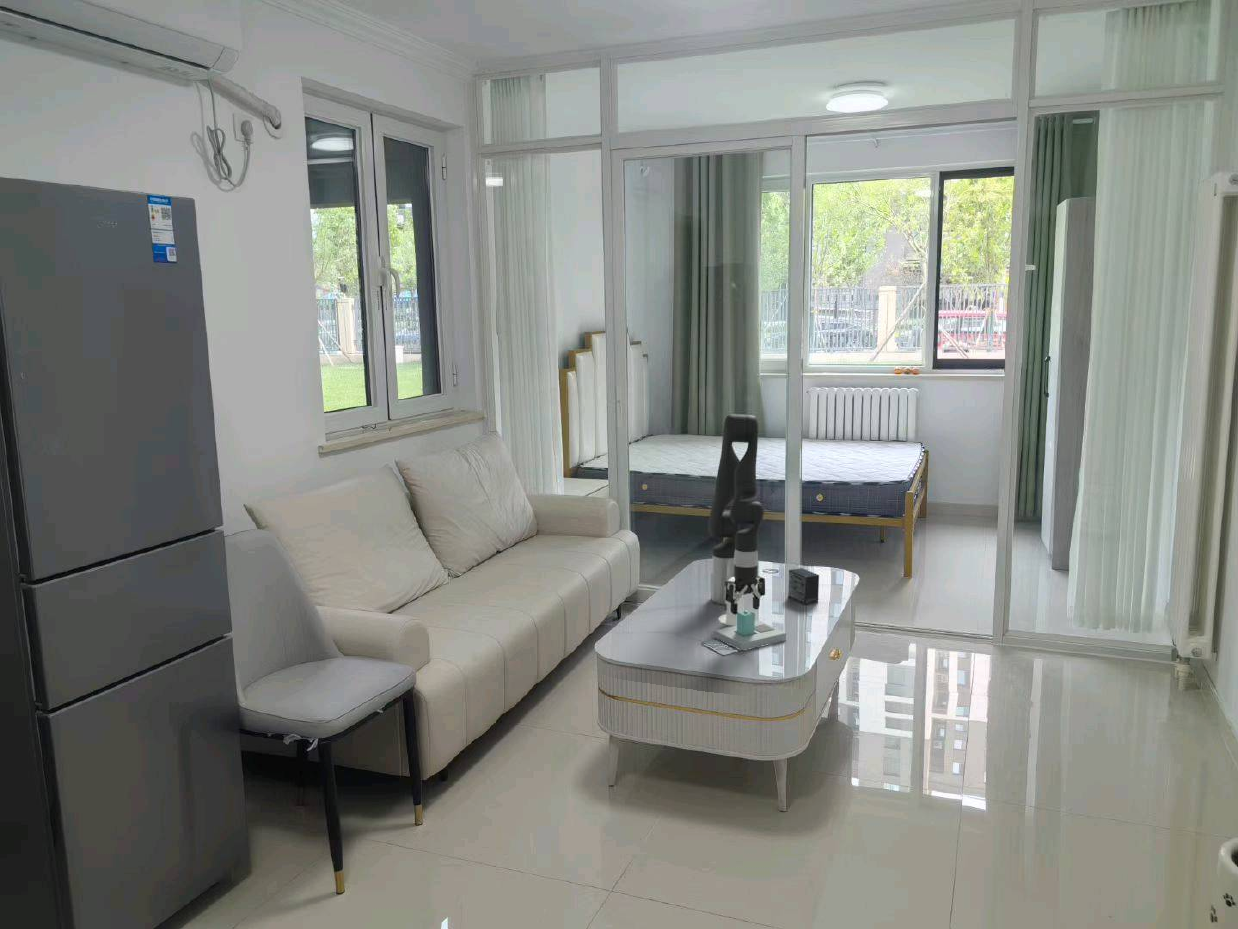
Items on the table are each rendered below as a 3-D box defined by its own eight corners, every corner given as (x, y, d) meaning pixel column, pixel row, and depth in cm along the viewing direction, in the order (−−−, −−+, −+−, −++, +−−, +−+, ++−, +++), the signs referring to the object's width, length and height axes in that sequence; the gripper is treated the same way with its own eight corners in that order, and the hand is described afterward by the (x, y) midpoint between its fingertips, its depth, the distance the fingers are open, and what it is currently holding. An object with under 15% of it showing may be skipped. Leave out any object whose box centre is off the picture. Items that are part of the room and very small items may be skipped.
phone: (723, 657, 288) (723, 654, 288) (700, 645, 298) (700, 642, 298) (738, 653, 291) (738, 650, 291) (716, 642, 301) (716, 638, 301)
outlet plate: (714, 637, 303) (714, 629, 303) (758, 627, 312) (758, 619, 312) (741, 651, 291) (741, 643, 291) (786, 640, 300) (786, 632, 300)
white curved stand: (726, 612, 327) (726, 571, 325) (757, 617, 322) (757, 575, 319) (713, 622, 317) (713, 580, 314) (744, 628, 312) (745, 584, 309)
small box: (819, 602, 336) (820, 574, 335) (804, 605, 334) (805, 577, 332) (801, 594, 346) (802, 567, 344) (787, 597, 343) (788, 569, 341)
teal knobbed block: (736, 638, 301) (737, 610, 300) (746, 636, 303) (746, 608, 302) (744, 642, 298) (744, 614, 296) (754, 640, 300) (754, 611, 298)
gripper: (756, 556, 303) (755, 604, 306) (720, 563, 296) (720, 612, 299) (771, 562, 296) (769, 610, 299) (735, 569, 289) (734, 619, 292)
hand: (745, 611), depth 299 cm, fingers open, 8 cm apart
